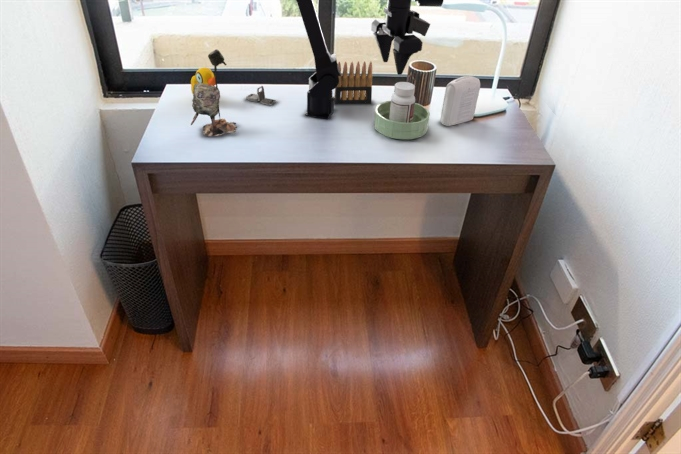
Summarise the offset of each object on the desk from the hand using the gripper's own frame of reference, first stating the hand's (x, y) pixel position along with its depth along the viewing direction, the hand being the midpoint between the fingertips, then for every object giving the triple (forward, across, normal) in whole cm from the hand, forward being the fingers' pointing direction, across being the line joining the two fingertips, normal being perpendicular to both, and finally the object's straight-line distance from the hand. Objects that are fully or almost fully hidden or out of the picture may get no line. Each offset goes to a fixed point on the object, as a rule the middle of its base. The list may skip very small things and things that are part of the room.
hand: (392, 68), depth 133 cm
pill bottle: (+13, -9, 0) cm, 16 cm away
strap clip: (+13, +17, +32) cm, 39 cm away
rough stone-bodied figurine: (+13, +2, +47) cm, 49 cm away
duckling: (+13, +20, +47) cm, 53 cm away
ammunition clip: (+13, +10, +7) cm, 18 cm away
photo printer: (+13, -9, -17) cm, 23 cm away
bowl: (+13, -9, 0) cm, 16 cm away
